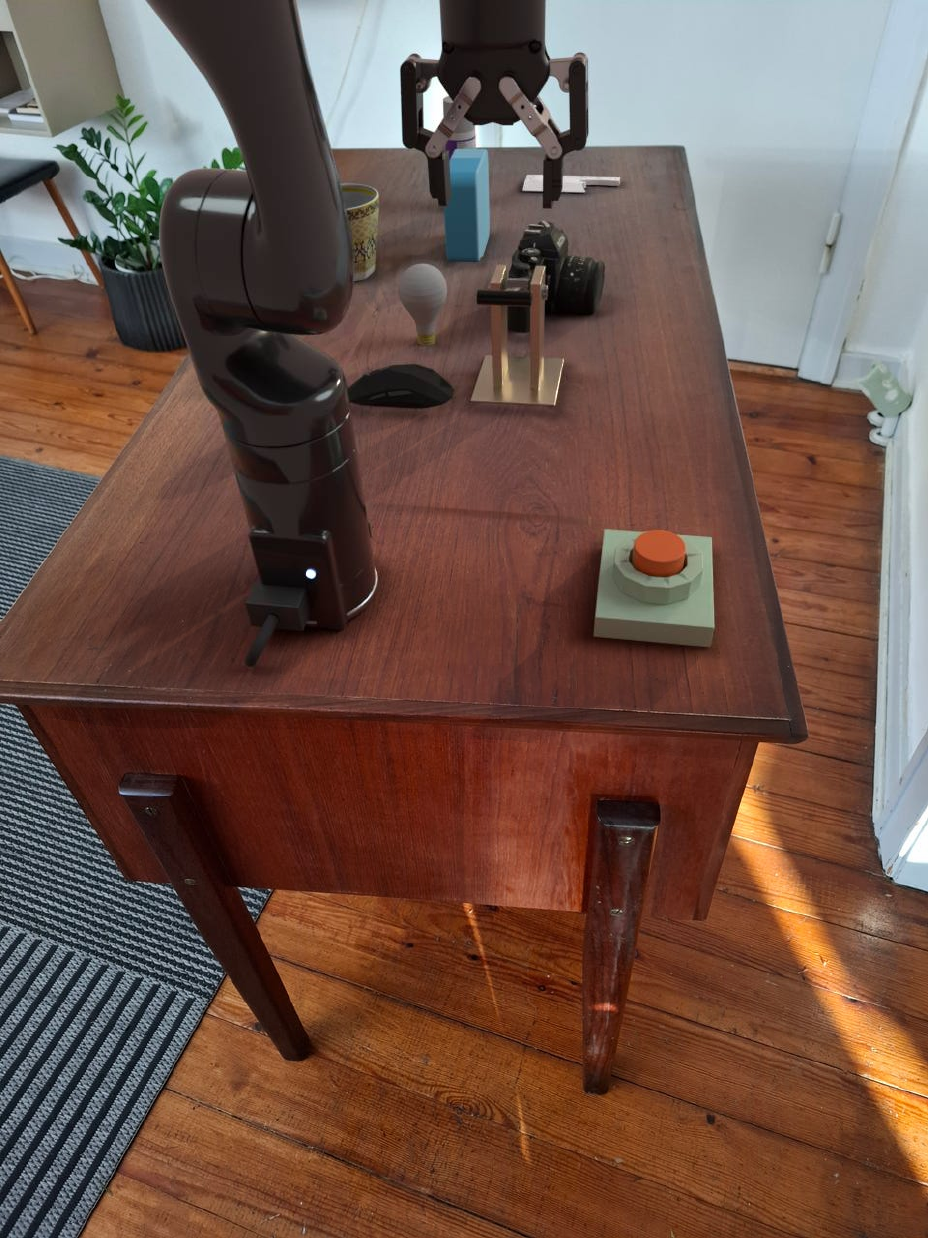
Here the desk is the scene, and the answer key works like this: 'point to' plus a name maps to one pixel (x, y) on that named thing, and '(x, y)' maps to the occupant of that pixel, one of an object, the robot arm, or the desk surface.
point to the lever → (508, 294)
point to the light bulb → (423, 298)
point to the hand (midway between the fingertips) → (496, 204)
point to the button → (659, 553)
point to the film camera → (555, 275)
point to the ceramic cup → (362, 226)
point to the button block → (655, 595)
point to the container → (460, 132)
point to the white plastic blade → (570, 183)
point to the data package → (468, 206)
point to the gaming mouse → (401, 387)
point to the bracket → (514, 374)
